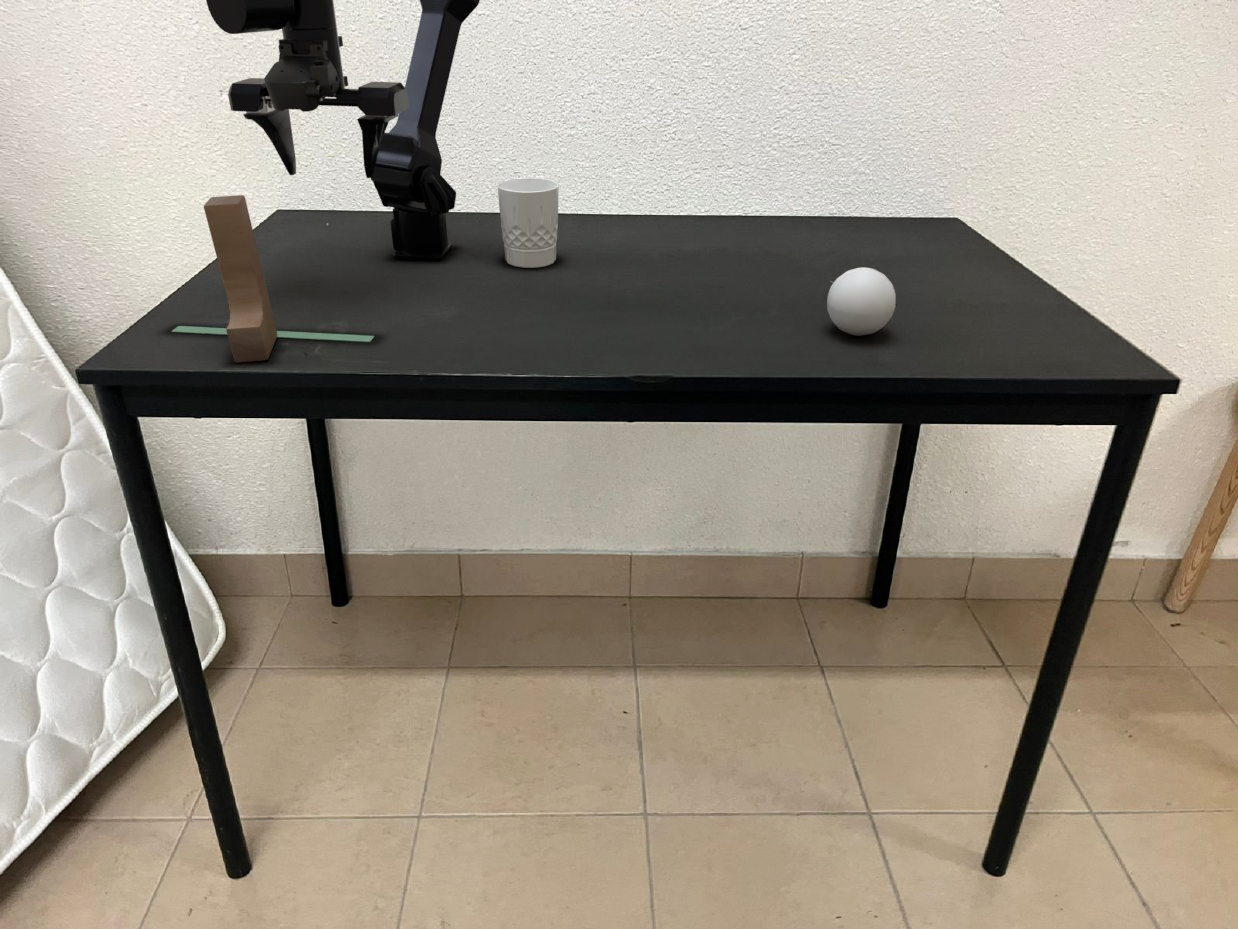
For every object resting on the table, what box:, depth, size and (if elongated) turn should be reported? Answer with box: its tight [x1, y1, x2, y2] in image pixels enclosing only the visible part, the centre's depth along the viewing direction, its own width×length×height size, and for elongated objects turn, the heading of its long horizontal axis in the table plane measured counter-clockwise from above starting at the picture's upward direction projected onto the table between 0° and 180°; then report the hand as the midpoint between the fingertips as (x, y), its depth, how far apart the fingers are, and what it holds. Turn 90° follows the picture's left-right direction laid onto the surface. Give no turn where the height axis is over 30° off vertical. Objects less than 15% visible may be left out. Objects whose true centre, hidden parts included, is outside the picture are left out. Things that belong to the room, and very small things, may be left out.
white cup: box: [496, 177, 560, 269], centre depth 117 cm, size 8×8×10 cm
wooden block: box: [203, 194, 278, 363], centre depth 89 cm, size 7×3×15 cm, turn 10°
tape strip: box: [170, 325, 375, 343], centre depth 96 cm, size 22×2×1 cm, turn 85°
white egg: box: [825, 266, 897, 337], centre depth 99 cm, size 10×7×7 cm
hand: (331, 175), depth 104 cm, fingers open, 9 cm apart
